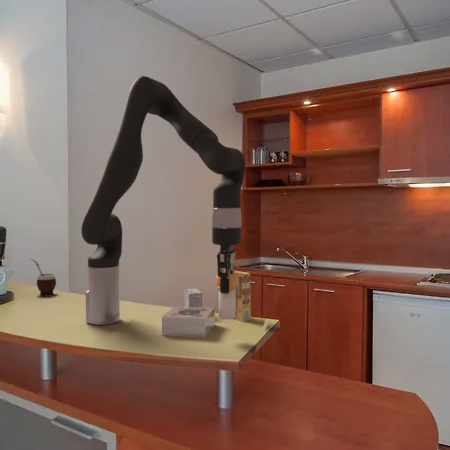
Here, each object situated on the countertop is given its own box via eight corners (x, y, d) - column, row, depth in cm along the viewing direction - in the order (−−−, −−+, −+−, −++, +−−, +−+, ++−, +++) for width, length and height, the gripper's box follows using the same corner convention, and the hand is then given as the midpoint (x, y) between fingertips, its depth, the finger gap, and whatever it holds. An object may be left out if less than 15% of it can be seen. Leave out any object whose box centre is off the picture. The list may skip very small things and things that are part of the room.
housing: (162, 338, 117) (161, 316, 116) (175, 325, 128) (174, 306, 128) (205, 341, 115) (205, 318, 114) (214, 328, 126) (214, 307, 126)
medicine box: (203, 320, 135) (202, 292, 134) (189, 321, 133) (188, 293, 133) (197, 314, 142) (197, 288, 142) (184, 315, 141) (183, 288, 140)
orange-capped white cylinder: (213, 319, 110) (213, 276, 109) (218, 313, 115) (218, 272, 115) (236, 320, 109) (236, 277, 108) (239, 314, 114) (239, 273, 114)
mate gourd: (60, 293, 173) (59, 256, 172) (45, 298, 165) (44, 259, 164) (45, 292, 175) (44, 255, 174) (30, 296, 168) (29, 258, 167)
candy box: (251, 322, 133) (251, 272, 132) (241, 325, 130) (241, 274, 129) (231, 316, 139) (231, 269, 138) (221, 319, 136) (221, 270, 135)
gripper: (218, 224, 119) (218, 284, 119) (206, 227, 104) (206, 296, 105) (245, 224, 117) (245, 285, 118) (237, 227, 103) (237, 297, 104)
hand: (227, 290), depth 112 cm, fingers closed on orange-capped white cylinder, 5 cm apart
